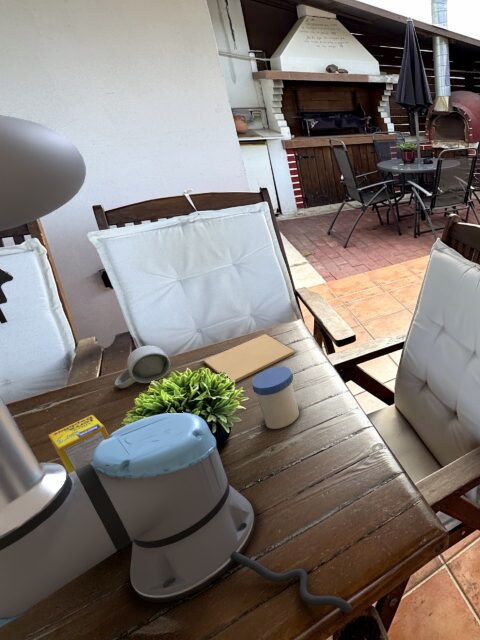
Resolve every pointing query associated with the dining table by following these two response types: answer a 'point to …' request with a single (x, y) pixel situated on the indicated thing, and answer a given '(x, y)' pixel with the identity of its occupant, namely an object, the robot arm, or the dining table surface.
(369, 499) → the dining table surface
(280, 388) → the lid
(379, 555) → the dining table surface
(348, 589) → the dining table surface
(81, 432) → the supplement box
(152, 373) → the ceramic mug
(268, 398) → the jar
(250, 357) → the mat
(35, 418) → the dining table surface
